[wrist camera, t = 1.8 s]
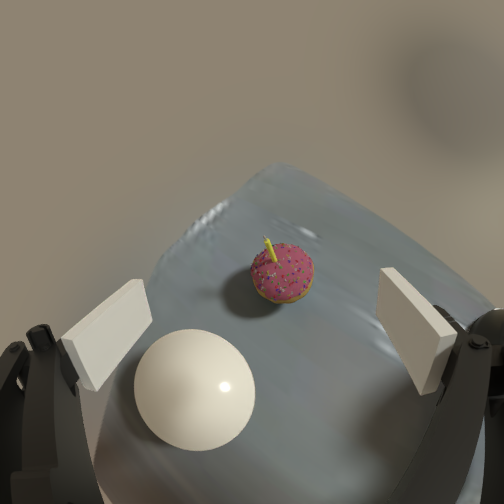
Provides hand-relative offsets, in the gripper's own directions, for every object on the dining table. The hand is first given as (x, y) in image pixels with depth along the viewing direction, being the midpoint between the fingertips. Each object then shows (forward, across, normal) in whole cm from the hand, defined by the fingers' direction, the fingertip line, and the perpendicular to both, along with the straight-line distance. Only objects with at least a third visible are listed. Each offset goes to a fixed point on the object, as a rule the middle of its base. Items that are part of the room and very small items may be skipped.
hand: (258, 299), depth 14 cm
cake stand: (+14, -10, -21) cm, 27 cm away
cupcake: (+25, +1, -10) cm, 27 cm away
